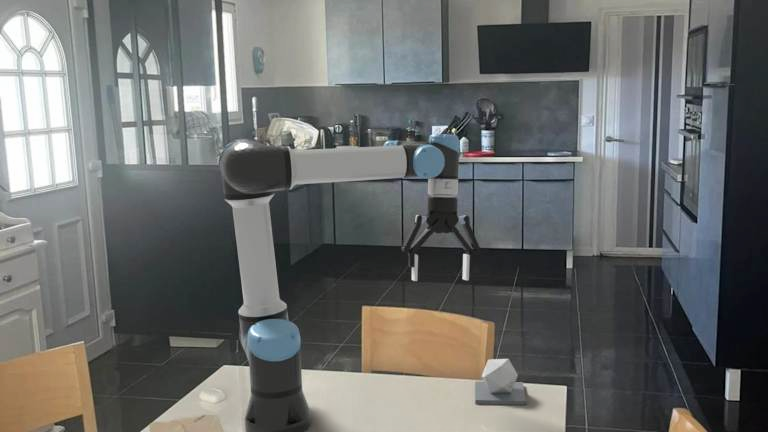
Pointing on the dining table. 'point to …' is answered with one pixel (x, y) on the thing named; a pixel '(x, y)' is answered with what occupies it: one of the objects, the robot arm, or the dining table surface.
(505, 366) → the die
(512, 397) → the slate board
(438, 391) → the dining table surface
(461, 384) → the dining table surface
